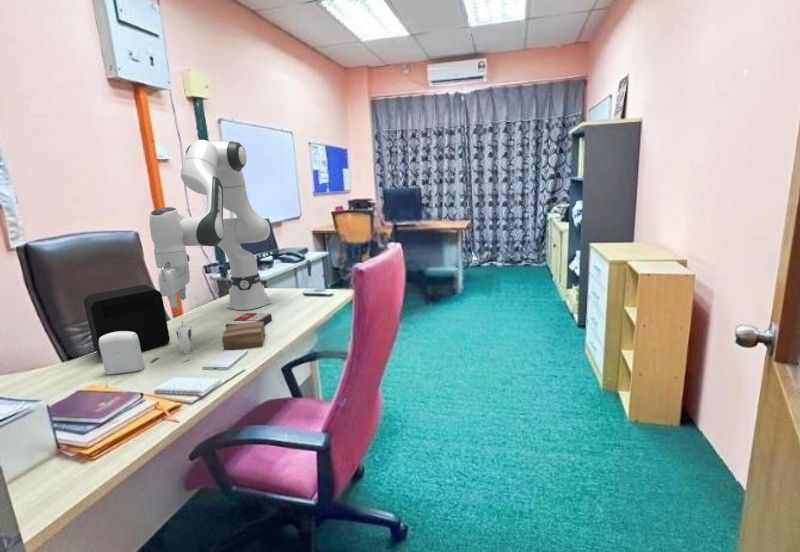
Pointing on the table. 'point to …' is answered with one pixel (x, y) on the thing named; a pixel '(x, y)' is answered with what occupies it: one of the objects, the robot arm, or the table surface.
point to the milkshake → (185, 338)
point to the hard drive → (225, 360)
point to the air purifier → (128, 315)
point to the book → (252, 318)
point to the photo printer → (121, 352)
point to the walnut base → (244, 336)
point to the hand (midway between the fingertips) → (178, 303)
